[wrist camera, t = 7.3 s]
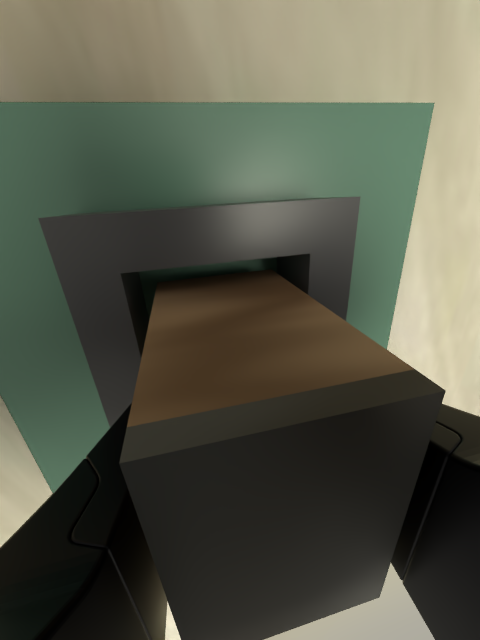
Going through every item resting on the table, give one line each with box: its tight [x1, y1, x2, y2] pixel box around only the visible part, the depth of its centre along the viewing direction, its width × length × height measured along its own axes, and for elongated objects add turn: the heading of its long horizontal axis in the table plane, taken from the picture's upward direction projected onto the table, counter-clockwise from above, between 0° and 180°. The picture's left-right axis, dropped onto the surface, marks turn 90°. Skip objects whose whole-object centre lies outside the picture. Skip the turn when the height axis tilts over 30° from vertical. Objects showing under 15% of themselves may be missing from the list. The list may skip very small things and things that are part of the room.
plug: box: [119, 269, 445, 640], centre depth 7 cm, size 4×6×7 cm
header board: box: [0, 102, 434, 493], centre depth 11 cm, size 18×16×4 cm
